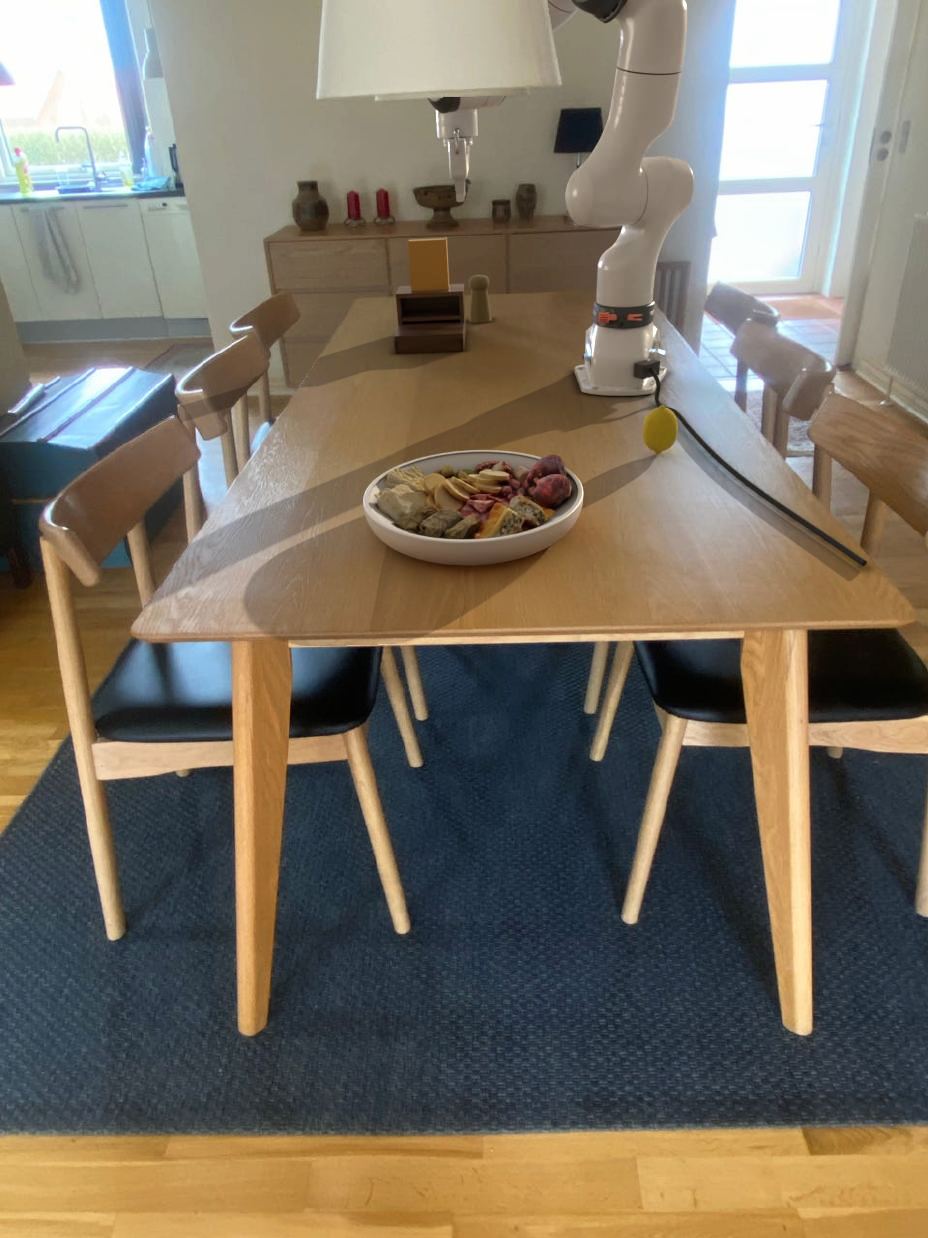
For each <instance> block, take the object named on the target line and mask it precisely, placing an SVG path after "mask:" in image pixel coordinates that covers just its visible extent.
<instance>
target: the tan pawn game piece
mask: <svg viewBox="0 0 928 1238" xmlns="http://www.w3.org/2000/svg"><path fill="white" fill-rule="evenodd" d="M468 286H469V289H470V302H469V315H468V322H469V323H472V324H483V323H484V324H485V323H490V322H492V320H493V317H492V310H491V304H490V297H489V292H488V288H489V286H490V279H489V277H488V276H487V275H484V274H475V275H471V276H470V278H469V280H468Z"/></svg>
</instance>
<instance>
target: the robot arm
mask: <svg viewBox="0 0 928 1238" xmlns="http://www.w3.org/2000/svg"><path fill="white" fill-rule="evenodd" d="M548 8H549V14H550V18H551V23H552V29H553V33H555V32H556V31H558V30H559V29H560V28H562V27H563V26H564V25H565V24H567V22H569V20H571V18H572V17H574V15H575V14H576V12H578V10H581V11H583V12H585V13H587V14H589V15H591V16H592V17H595V18H596V19H597V20H599V21H600V22H601V23H603V24H608V23H610V22H612V21H613V20H614V21H615V22H616V23H617V26H618V29H619V36H620V38H619V50H618V56H617V61H616V62H617V63H616V68H615V69H616V70H615V77H614V84H613V90H612V97H611V101H610V107H609V113H608V117H607V121H606V124H605V126H604V129H603V132H602V133H601V136H600V138H599V140H598V142H597V143H596V145H595V147H594V148H593V150H592V152H591V154H589V156H588V158H586V159H585V161H584V162H583V163H582V164H581V165H580V166H579V167H578V168H576V169H575V170H574V171H573V172H572V174H571V176H570V177H569V180H568V181H567V185H566V189H565V193H564V194H565V196H564V198H565V200H564V201H565V206H566V210H567V214H568V215H569V217H570V219H571V220H572V221H573V222H574V223H575V224H576V225H577V226H580V227H587V228H594V229H608V228H615V227H621V231H620V233H619V234H618V236H617V239H616V241H615V242H614V243H613V244H612V246H610V247H609V248H608V249H606V250H605V251H604V252H603V253H602V255H601V256H600V258H599V260H598V263H597V272H596V293H595V295H596V296H595V301H594V302H593V307H592V322H593V323H592V325H591V326H590V327H589V328H588V329H586V330H585V347H584V353H583V355H582V360H583V361H584V364H579V365H576V366H575V367H574V370H573V371H574V375H575V378H576V381H577V383H578V386H579V389H580V392H581V393H585V394H589V395H596V396H609V397H610V396H612V397H613V396H615V397H631V396H633V397H634V396H646V395H650V394H654V401H655V404H656V406H657V408H658V407H660V406H662V405H663V404H662V402H661V401H660V393H661V387H662V386H661V385H662V384H661V382H662V381H663V380H664V378H665V377H666V375H667V373H668V368H667V367H666V366H663V365H661V355H666V350H663V349H661V341H660V334H661V331H660V330H659V329H658V328H657V327H656V326H655V324H654V319H655V318H654V317H655V311H656V307H655V301H654V299H653V298H654V288H655V279H656V271H657V264H658V259H659V254H660V252H661V249H662V246H663V243H664V242H665V239H666V238H667V235H668V233H669V231H670V230H671V228H672V226H673V225H674V223H675V222H676V221H677V220H678V219H679V217H681V215H682V214H684V213H685V212H686V211H687V210H688V208H689V207H690V205H691V203H692V200H693V197H694V194H695V187H696V186H695V185H696V183H695V175H694V172H693V170H692V167H691V166H690V164H689V163H688V162H687V161H685V160H684V159H681V158H676V157H671V156H665V155H658V156H646V153H647V152H648V150H649V148H650V147H651V145H652V144H653V143H654V142H655V141H656V140H657V139H658V138H660V136H661V135H663V134H664V133H665V132H667V130H668V129H669V128H670V127H671V125H672V123H673V121H674V119H675V114H676V108H677V102H678V97H679V92H680V86H681V80H682V79H681V78H682V75H683V74H682V73H683V68H684V62H685V54H686V47H687V35H688V34H687V33H688V31H687V30H688V5H687V1H686V0H548ZM506 97H507V95H506V96H478V97H443V98H427V97H426V99H427V100H428V102H429V104H430V105H431V106H432V108H434V109H435V118H436V119H435V120H436V135H437V139H439V140H440V139H441V140H443V147H444V148H448V165H449V166H448V167H449V177H450V179H451V181H454V182H453V183H454V190H455V201H456V202H457V203H463V202H465V197H466V179H467V178H468V174H469V170H470V153H471V146H473V145H474V144H473V138H474V137H479V127H478V125H479V124H478V110H481V109H492V108H494V107H497V106H500V105H501V104H502V103H503V102H504V100H505V99H506ZM645 156H646V157H645ZM664 406H665V408H668V409H670V410H671V411H672V412H673V413H674V414H675V416H676V418H677V420H678V421H680V423H681V424H682V425H683V426H684V428H685V429H686V430H687V431H688V432H689V433H690V435H691V436H692V437H693V438H694V439H695V441H696V442H697V443H699V445H700V446H701V447H702V448H703V449H704V450H705V451H706V452H707V453H708V454H709V455H710V456H711V457H712V458H713V459H714V460H715V461H716V462H717V463H718V464H719V465H721V466H722V467H723V468H724V469H725V470H726V471H728V472H729V473H730V474H731V475H732V476H733V477H734V478H736V479H737V480H738V481H740V482H741V483H742V484H743V485H745V486H746V487H747V488H749V489H750V490H751V491H753V492H754V493H755V494H757V495H758V496H759V497H761V498H762V499H764V500H765V501H767V502H768V503H769V504H771V505H772V506H774V507H775V508H777V509H778V510H779V511H781V512H782V513H784V514H785V515H787V516H788V517H790V518H791V519H792V520H794V521H796V522H797V523H798V524H800V525H801V526H803V527H804V528H806V529H808V530H809V531H810V532H812V533H813V534H815V535H816V536H818V537H819V538H821V539H823V540H824V541H825V542H827V543H828V544H830V545H831V546H833V547H834V548H836V549H837V550H838V551H840V552H841V553H842V554H844V555H846V556H847V557H849V558H850V559H851V560H853V561H854V562H855V563H857V564H859V566H861V567H865V566H866V565H867V564H868V561H867V560H866V559H865V558H863V557H861V556H860V555H859V554H857V553H856V552H854V551H853V550H852V549H850V548H849V547H847V546H846V545H844V544H843V543H841V542H840V541H839V540H837V539H835V538H834V537H832V536H831V535H829V534H828V533H826V532H825V531H824V530H822V529H821V528H819V527H818V526H816V525H814V524H813V523H811V522H810V521H809V520H807V519H805V518H804V517H802V515H799V514H798V513H796V511H794V510H792V509H790V508H789V507H788V506H786V505H784V504H783V503H781V502H780V501H778V500H777V499H775V498H774V497H772V496H771V495H770V494H768V493H766V492H765V491H764V490H762V489H761V488H760V487H759V486H757V485H756V484H755V483H753V482H752V481H750V480H749V479H748V478H747V477H745V476H744V475H742V474H741V473H740V472H739V471H738V470H736V469H735V468H734V467H733V466H732V465H730V464H729V463H728V462H727V461H726V460H725V459H723V457H722V456H720V455H719V454H718V453H717V452H716V451H715V450H714V449H713V448H712V447H711V446H710V444H708V443H707V442H706V441H705V440H704V439H703V438H702V437H701V435H700V434H699V433H698V432H697V431H696V430H695V429H694V428H693V426H691V425H690V423H689V422H688V421H687V420H686V418H685V416H683V414H681V412H679V411H678V410H677V409H675V408H673V407H670V406H666V405H664Z"/></svg>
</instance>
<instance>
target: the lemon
mask: <svg viewBox="0 0 928 1238" xmlns="http://www.w3.org/2000/svg"><path fill="white" fill-rule="evenodd" d="M665 406H666V405H663V404H662V406H660V407H658V406H657V407H656V408H654V409H651V410H650V411H649V412H648V413H647V415H646V416H645V418H644V420H643V424H642V430H641V431H642V440H643V444H645V446H646V447H647V448H648V450H650V451H653V452H654V453H655V454H656V455H660V454H662V452H665V451H668V450H669V449H670V448H671V447H672V446H673V445H674V444H675V443H676V440H677V438H678V433H679V422H678V417H677V416H676V415H675V414H674V413H673V412H672V411H671V410H670V409H668V408H665Z"/></svg>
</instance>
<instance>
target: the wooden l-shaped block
mask: <svg viewBox="0 0 928 1238" xmlns="http://www.w3.org/2000/svg"><path fill="white" fill-rule="evenodd" d="M465 298H466V296H465V283H449V290H429V291H411V285H401V286H398V288H397V290H396V292H395V302H396V303H395V304H396V305H395V306H396V315H397V327H396V329H395V332H394V335H393V345H394V353H395V355H398V354H399V355H401V354H425V353H426V354H427V353H450V352H452V353H453V352H464V351H465V345H466V344H465V342H466V334H467V322H466V321H467V320H466V319H467V317H466V299H465Z"/></svg>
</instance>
